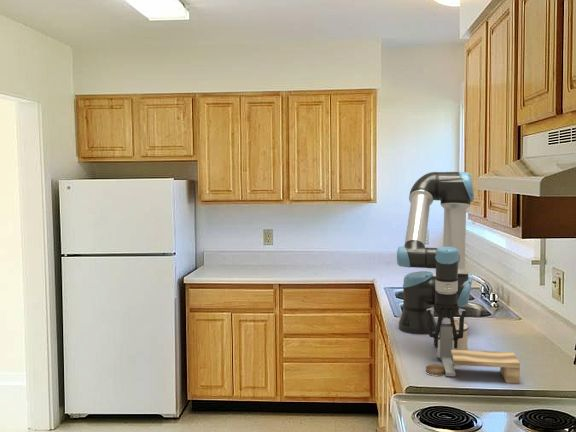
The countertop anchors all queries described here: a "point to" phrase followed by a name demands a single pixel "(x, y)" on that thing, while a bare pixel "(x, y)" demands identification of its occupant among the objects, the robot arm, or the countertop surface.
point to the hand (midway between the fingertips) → (445, 356)
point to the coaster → (435, 369)
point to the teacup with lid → (462, 341)
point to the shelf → (490, 362)
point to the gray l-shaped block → (446, 348)
